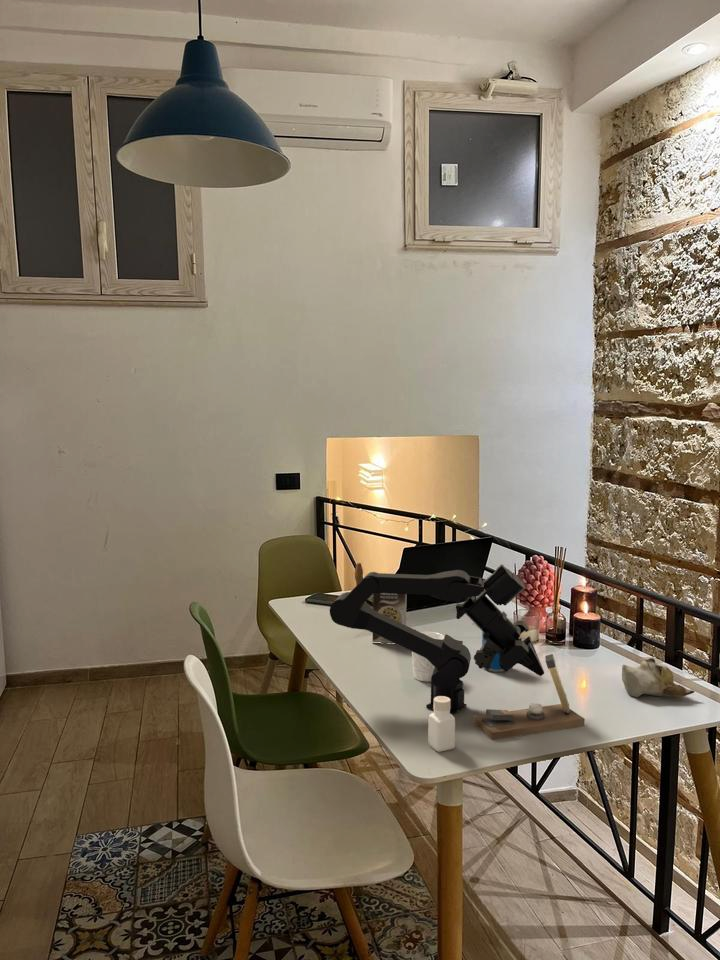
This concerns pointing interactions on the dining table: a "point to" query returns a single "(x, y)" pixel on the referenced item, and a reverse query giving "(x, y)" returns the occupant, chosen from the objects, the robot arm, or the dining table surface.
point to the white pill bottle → (441, 725)
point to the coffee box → (389, 609)
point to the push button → (535, 708)
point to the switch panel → (529, 722)
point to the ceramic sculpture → (651, 680)
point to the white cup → (424, 662)
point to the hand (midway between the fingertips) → (542, 674)
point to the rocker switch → (499, 714)
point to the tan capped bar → (557, 683)
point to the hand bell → (358, 573)
